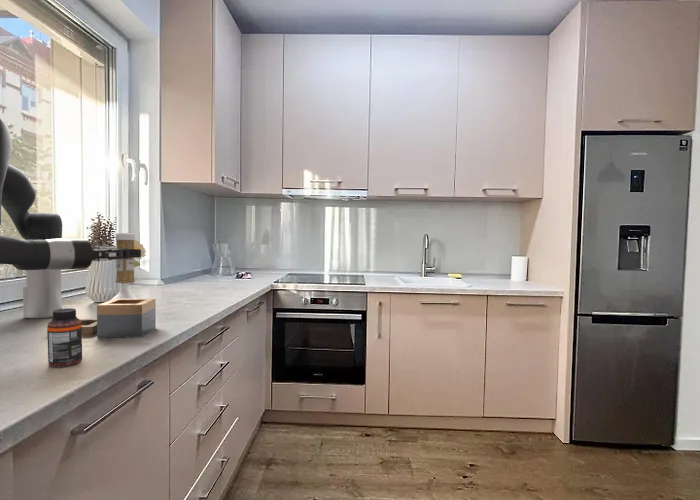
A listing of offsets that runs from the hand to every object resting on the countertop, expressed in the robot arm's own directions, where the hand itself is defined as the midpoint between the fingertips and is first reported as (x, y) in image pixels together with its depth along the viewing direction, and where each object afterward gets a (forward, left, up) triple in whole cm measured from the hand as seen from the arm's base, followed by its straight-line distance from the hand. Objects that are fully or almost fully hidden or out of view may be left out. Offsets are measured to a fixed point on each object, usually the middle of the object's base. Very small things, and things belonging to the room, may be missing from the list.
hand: (135, 252), depth 118 cm
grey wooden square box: (-1, -2, -22) cm, 22 cm away
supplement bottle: (-3, -30, -22) cm, 37 cm away
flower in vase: (-15, +35, -22) cm, 44 cm away
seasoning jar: (-2, -2, -8) cm, 9 cm away
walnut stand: (-14, 0, -22) cm, 26 cm away
